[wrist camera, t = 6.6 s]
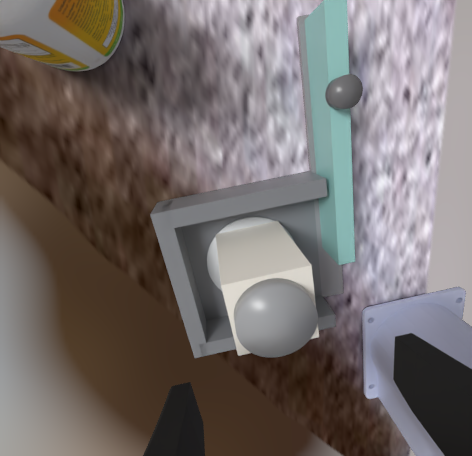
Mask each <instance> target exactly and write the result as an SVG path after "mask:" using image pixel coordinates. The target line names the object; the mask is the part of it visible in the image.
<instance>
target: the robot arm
mask: <svg viewBox="0 0 472 456" xmlns="http://www.w3.org/2000/svg"><path fill="white" fill-rule="evenodd" d="M465 295H466V291H465V290H464V289H462V288H460V287H454V288H450V289H446V290H441V291H437V292H432V293H428V294H423V295H419V296H414V297H410V298H405V299H401V300H396V301H392V302H387V303H383V304H378V305H374V306H369V307H366V308H365V309H364V310H363V312H362V327H363V370H364V394H365V396H366V397H367V398H369V399H372V398H377V397H379V399H380V400H381V402H382V404H383V405H384V407H385V408H386V410H387V411H388V413H389V415H390V416H391V418H392V419H393V421H394V422H395V424H396V426H397V427H398V429H399V430H400V432H401V433H402V435H403V437H404V438H405V440H406V441H407V443H408V444H409V446H410V448H411V449H412V451H413V452H414V454H415V455H416V456H472V327H471V326H470V325H469V324H467V323H466V322H465V321H463V320H462V317H463V310H464V301H465ZM369 318H370V319H369ZM368 319H369V320H368ZM143 456H205V449H204V430H203V421H202V418H201V415H200V412H199V409H198V405H197V402H196V399H195V396H194V393H193V389H192V386H191V383H190V382H189V383H184V384H180V385H175V386H172V387H171V389H170V391H169V393H168V396H167V399H166V402H165V404H164V407H163V410H162V412H161V415H160V418H159V420H158V422H157V425H156V427H155V430H154V432H153V434H152V437H151V439H150V441H149V444H148V446H147V448H146V451H145V453H144V455H143Z"/></svg>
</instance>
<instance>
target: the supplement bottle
mask: <svg viewBox="0 0 472 456" xmlns="http://www.w3.org/2000/svg"><path fill="white" fill-rule="evenodd" d="M124 22H125V14H124V6H123V0H0V47H2V48H5V49H7V50H10V51H12V52H15V53H17V54H21V55H23V56H26V57H28V58H31V59H34V60H36V61H39V62H42V63H44V64H47V65H50V66H52V67H55V68H59V69H63V70H68V71H86V70H91V69H94V68H96V67H98V66H100V65H102V64H103V63H105V62H106V61H107V60H108V59H109V58H110V57H111V56H112V55H113V54H114V52H115V51H116V49H117V47H118V45H119V43H120V41H121V38H122V34H123V30H124Z"/></svg>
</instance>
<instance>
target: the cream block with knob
mask: <svg viewBox="0 0 472 456" xmlns="http://www.w3.org/2000/svg"><path fill="white" fill-rule="evenodd" d="M216 243H217V253H218V262H219V272H220V281H221V288H222V292H223V296H224V300H225V304H226V308H227V312H228V316H229V320H230V324H231V328H232V333H233V337H234V341H235V345H236V349H237V353H238V356H240V355H244V354H248V353H253V354H256V355H258V356H262V357H280V356H284V355H288V354H290V353H293V352H295V351H297V350H298V349H300V348H301V347H303V346H304V345H305V344H306V343H307V342H308V341H309V340H310V339H313V338H317V337H319V331H318V313H317V309H316V303H315V293H314V284H313V275H312V265H311V264H310V263H309V261H308V260H307V259H306V257H305V256H304V255H303V253H302V252H301V251H300V249H299V248H298V247H297V245H296V244H295V243H294V241H293V240H292V239H291V238H290V236H289V235H288V234H287V232H286V231H285V230H284V228H283V227H282V226H281V224H280V223H279V222H278V221H274V222H269V223H265V224H260V225H256V226H251V227H246V228H242V229H237V230H233V231H228V232H224V233H219V234H216Z"/></svg>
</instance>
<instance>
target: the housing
mask: <svg viewBox="0 0 472 456" xmlns="http://www.w3.org/2000/svg"><path fill="white" fill-rule="evenodd" d="M308 16H309V15H305V16H299V17H298V18H297V29H298V41H299V52H300V64H301V75H302V87H303V99H304V110H305V122H306V133H307V145H308V156H309V168H310V171H308V172H303V173H298V174H293V175H288V176H283V177H278V178H273V179H268V180H264V181H259V182H254V183H249V184H244V185H239V186H234V187H229V188H224V189H219V190H215V191H210V192H205V193H200V194H195V195H190V196H185V197H180V198H175V199H171V200H166V201H161V202H157V204H156V206H155V208H154V209H153V211H152V213H151V214H150V215H151V218H152V222H153V225H154V228H155V231H156V234H157V238H158V241H159V244H160V247H161V251H162V254H163V257H164V260H165V264H166V267H167V270H168V273H169V277H170V280H171V283H172V286H173V289H174V293H175V296H176V299H177V302H178V306H179V309H180V312H181V315H182V319H183V322H184V325H185V328H186V331H187V335H188V338H189V341H190V344H191V348H192V351H193V354H194V357H195V358H197V357H202V356H206V355H211V354H215V353H220V352H224V351H229V350H233V349H236V345H235V341H234V337H233V333H232V328H231V324H230V320H229V316H228V312H227V308H226V304H225V300H224V296H223V292H222V288H221V281H220V272H219V262H218V253H217V243H216V234H219V233H224V232H228V231H233V230H237V229H242V228H246V227H251V226H256V225H260V224H265V223H269V222H274V221H278V222H279V223H280V224H281V226H282V227H283V228H284V230H285V231H286V232H287V234H288V235H289V236H290V238H291V239H292V240H293V241H294V243H295V244H296V245H297V247H298V248H299V249H300V251H301V252H302V253H303V255H304V256H305V257H306V259H307V260H308V261H309V263H310V264H311V265H312V275H313V284H314V293H315V303H316V309H317V313H318V330H322V329H326V328H331V327H335V326H336V320H335V313H334V312H333V310H332V309H331V307H330V306H329V305H328V303H327V302H326V300H325V299H324V297H328V296H333V295H337V294H342V293H343V275H342V265H338V264H337V263H336V262H335V261H334V260H333V259H332V257H331V256H330V255H329V254H328V253H327V252H326V251H325V250H324V249H323V248H322V238H321V225H320V212H319V199H318V198H321V197H326V196H327V184H326V178H324V177H322V176H320V175H318V174H316V161H315V148H314V135H313V122H312V110H311V97H310V84H309V71H308V58H307V46H306V33H305V19H306V18H307V17H308Z"/></svg>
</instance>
